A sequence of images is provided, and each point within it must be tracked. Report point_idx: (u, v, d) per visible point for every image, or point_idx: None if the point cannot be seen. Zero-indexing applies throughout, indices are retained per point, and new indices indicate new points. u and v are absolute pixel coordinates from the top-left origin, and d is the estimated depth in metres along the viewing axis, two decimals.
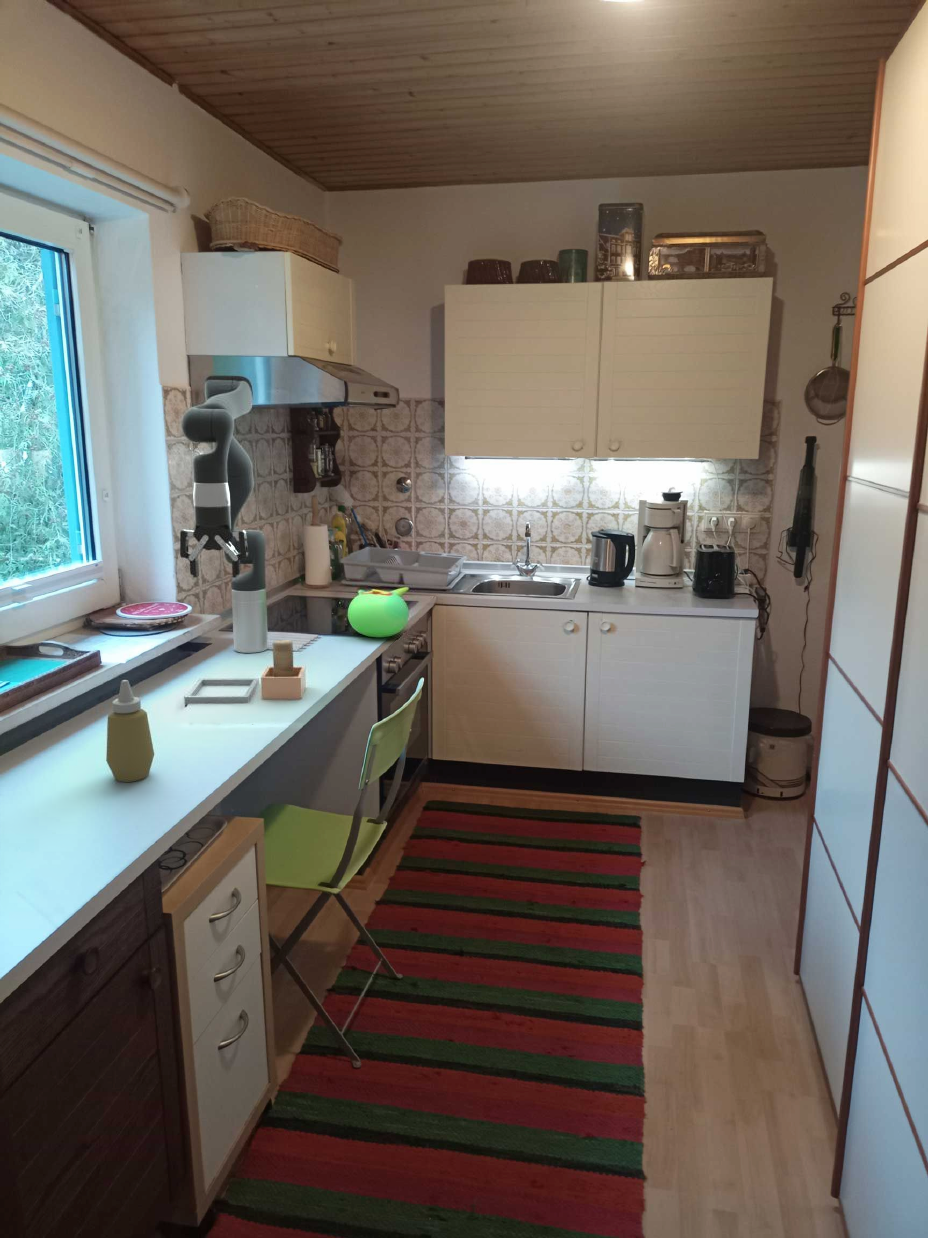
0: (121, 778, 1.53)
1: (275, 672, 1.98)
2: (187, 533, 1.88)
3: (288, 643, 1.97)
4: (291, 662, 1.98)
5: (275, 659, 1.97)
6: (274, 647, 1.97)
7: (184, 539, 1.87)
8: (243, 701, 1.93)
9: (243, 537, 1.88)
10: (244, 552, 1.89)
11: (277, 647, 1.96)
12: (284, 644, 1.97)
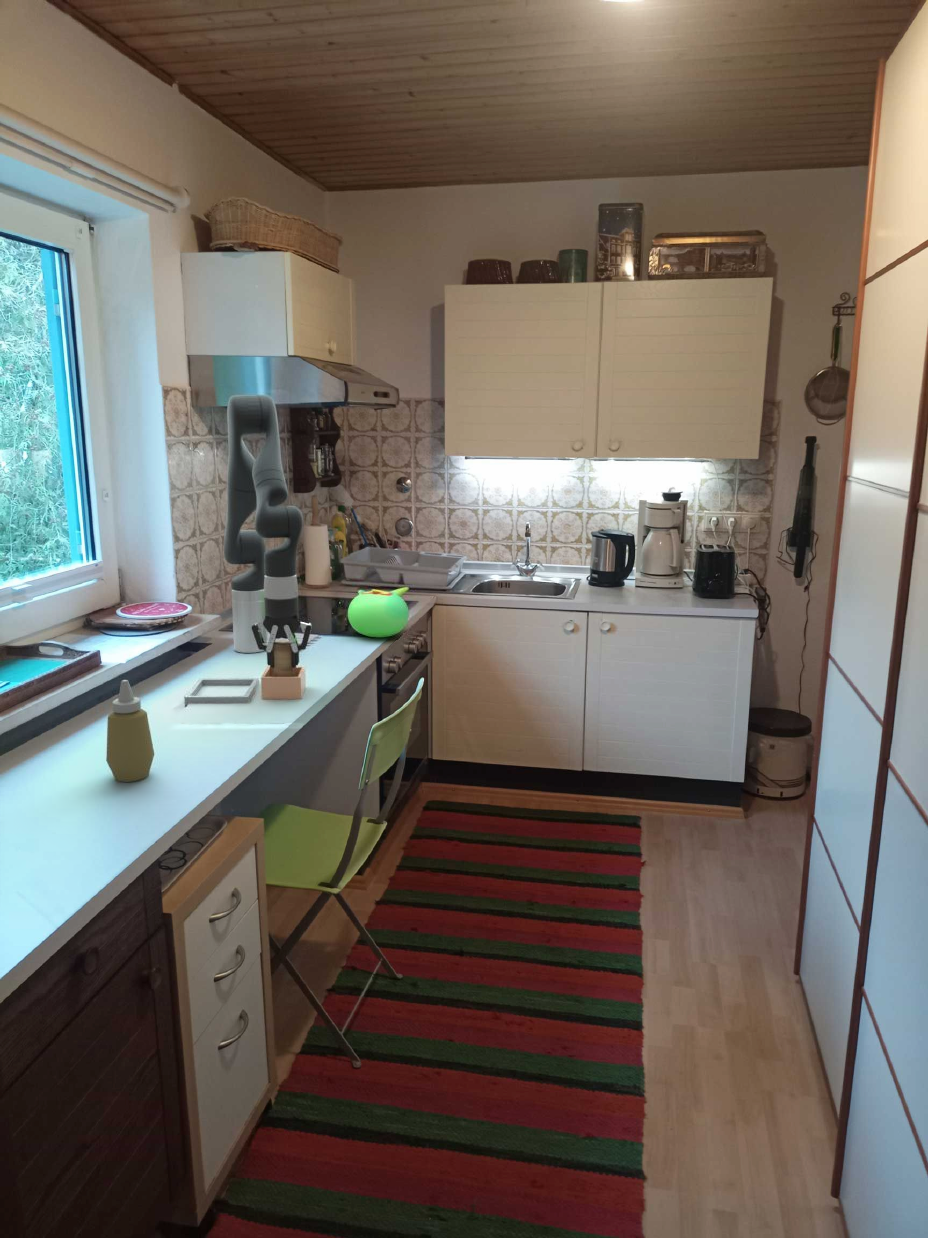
0: (121, 778, 1.53)
1: (275, 672, 1.98)
2: (258, 626, 1.96)
3: (288, 643, 1.97)
4: (291, 662, 1.98)
5: (275, 659, 1.97)
6: (274, 647, 1.97)
7: (257, 632, 1.96)
8: (243, 701, 1.93)
9: (309, 631, 1.97)
10: (304, 644, 1.97)
11: (277, 647, 1.96)
12: (284, 644, 1.97)
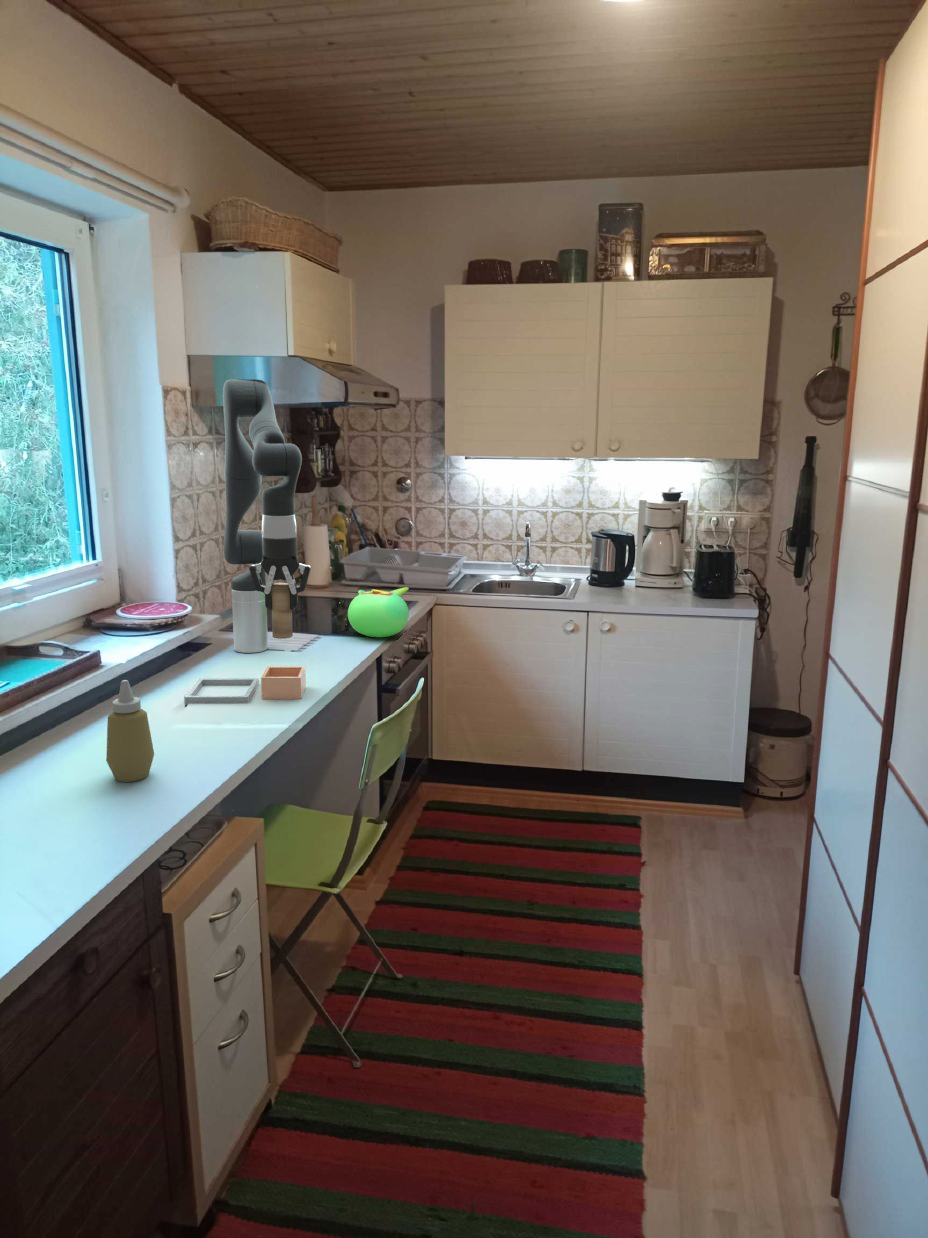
0: (121, 778, 1.53)
1: (273, 614, 1.95)
2: (255, 567, 1.93)
3: (286, 585, 1.94)
4: (289, 604, 1.95)
5: (273, 601, 1.94)
6: (272, 589, 1.93)
7: (255, 573, 1.93)
8: (243, 701, 1.93)
9: (308, 572, 1.93)
10: (302, 586, 1.94)
11: (276, 589, 1.93)
12: (282, 586, 1.94)
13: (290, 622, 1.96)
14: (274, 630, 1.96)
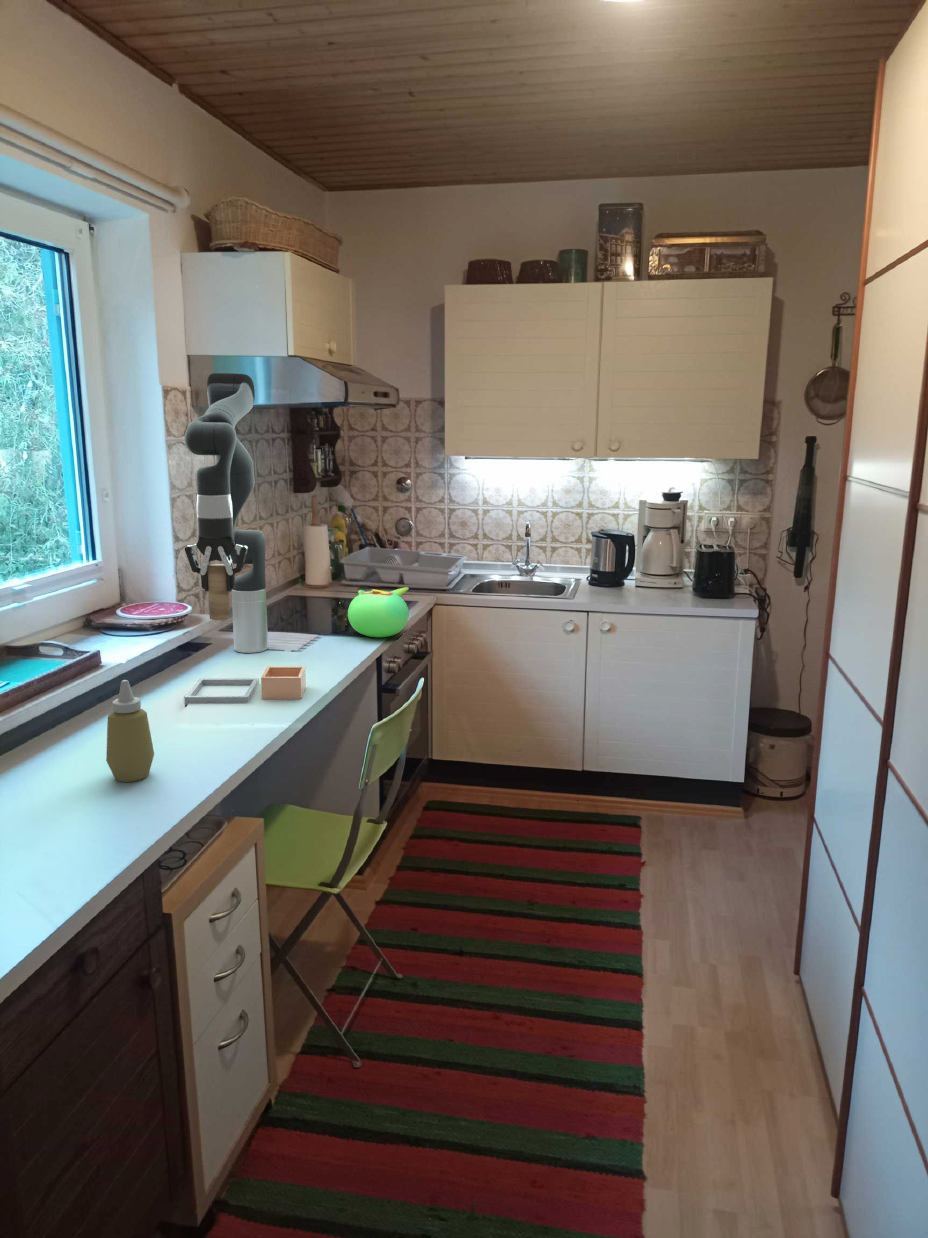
0: (121, 778, 1.53)
1: (210, 596, 1.93)
2: (191, 548, 1.91)
3: (223, 566, 1.92)
4: (225, 585, 1.93)
5: (209, 582, 1.92)
6: (208, 569, 1.92)
7: (190, 554, 1.91)
8: (243, 701, 1.93)
9: (244, 553, 1.92)
10: (239, 566, 1.92)
11: (211, 569, 1.91)
12: (218, 566, 1.92)
13: (227, 603, 1.94)
14: (211, 611, 1.94)
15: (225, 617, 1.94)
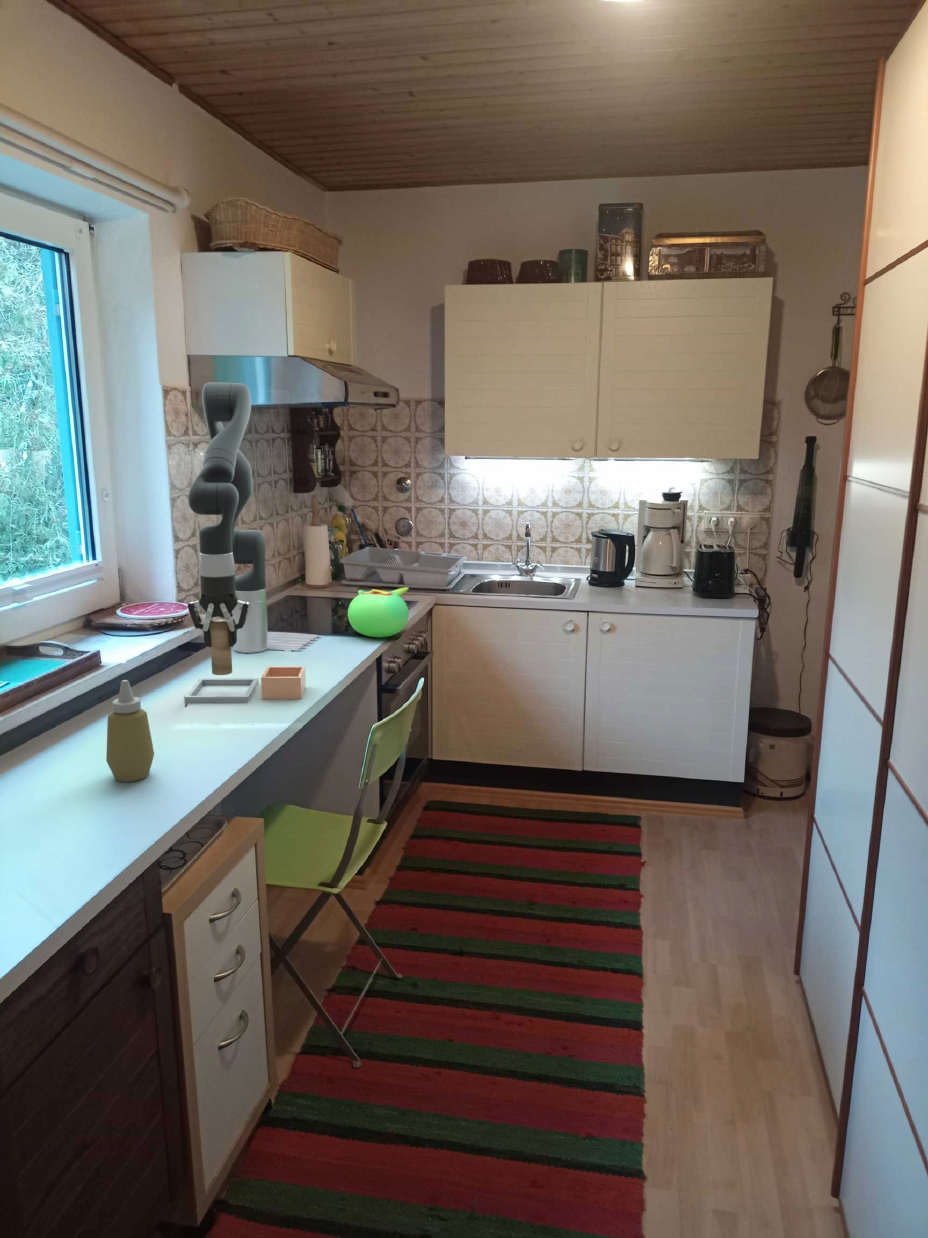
0: (121, 778, 1.53)
1: (212, 651, 1.96)
2: (194, 604, 1.94)
3: (225, 622, 1.95)
4: (228, 641, 1.96)
5: (212, 638, 1.95)
6: (211, 626, 1.95)
7: (193, 611, 1.94)
8: (243, 701, 1.93)
9: (246, 610, 1.95)
10: (241, 623, 1.95)
11: (214, 626, 1.94)
12: (221, 623, 1.95)
13: (229, 659, 1.97)
14: (213, 667, 1.97)
15: (227, 672, 1.97)
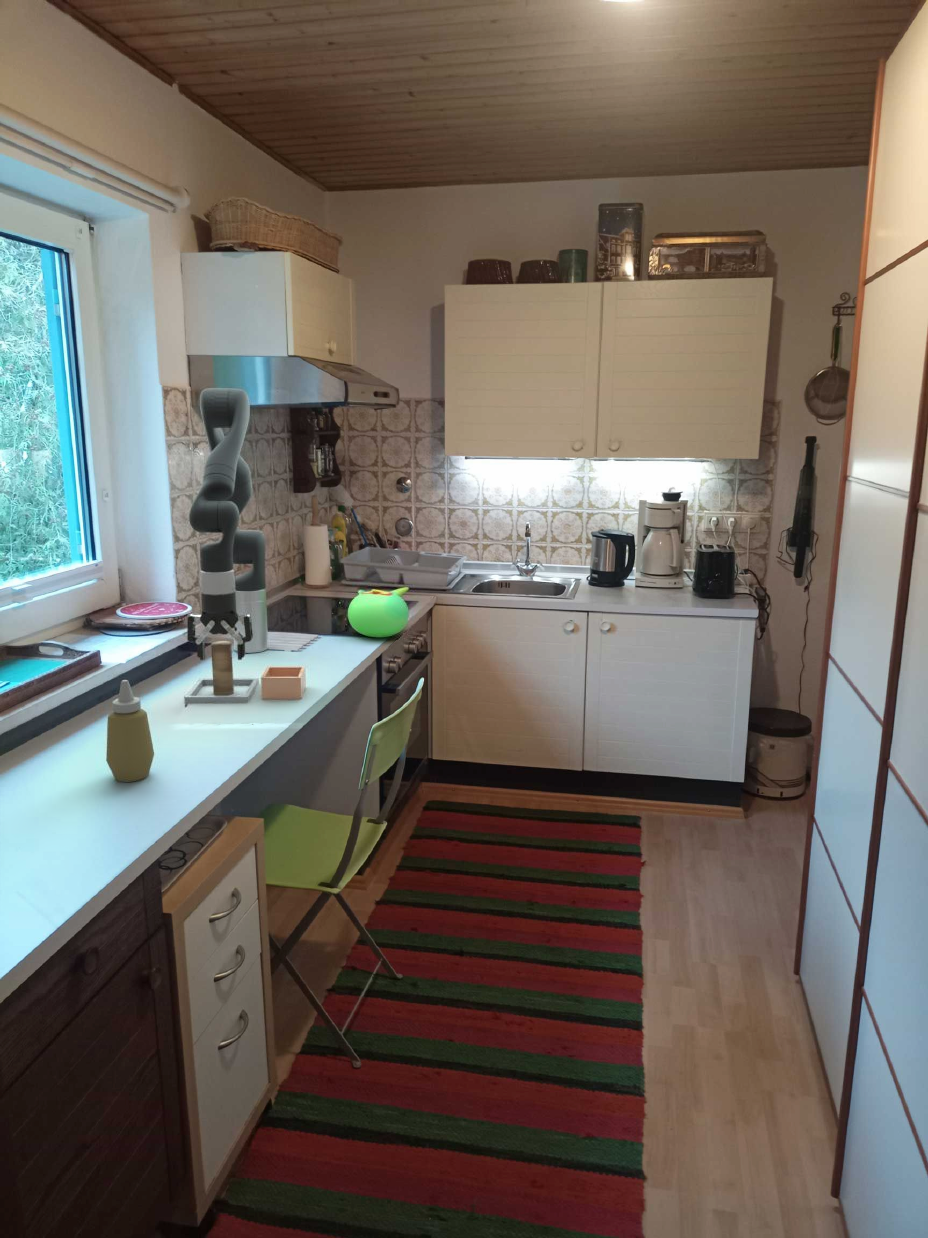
0: (121, 778, 1.53)
1: (214, 673, 1.97)
2: (194, 618, 1.95)
3: (226, 644, 1.97)
4: (229, 663, 1.97)
5: (213, 660, 1.96)
6: (212, 648, 1.96)
7: (191, 624, 1.95)
8: (243, 701, 1.93)
9: (248, 622, 1.95)
10: (249, 636, 1.96)
11: (215, 648, 1.95)
12: (222, 645, 1.96)
13: (231, 680, 1.98)
14: (215, 688, 1.98)
15: (229, 693, 1.98)
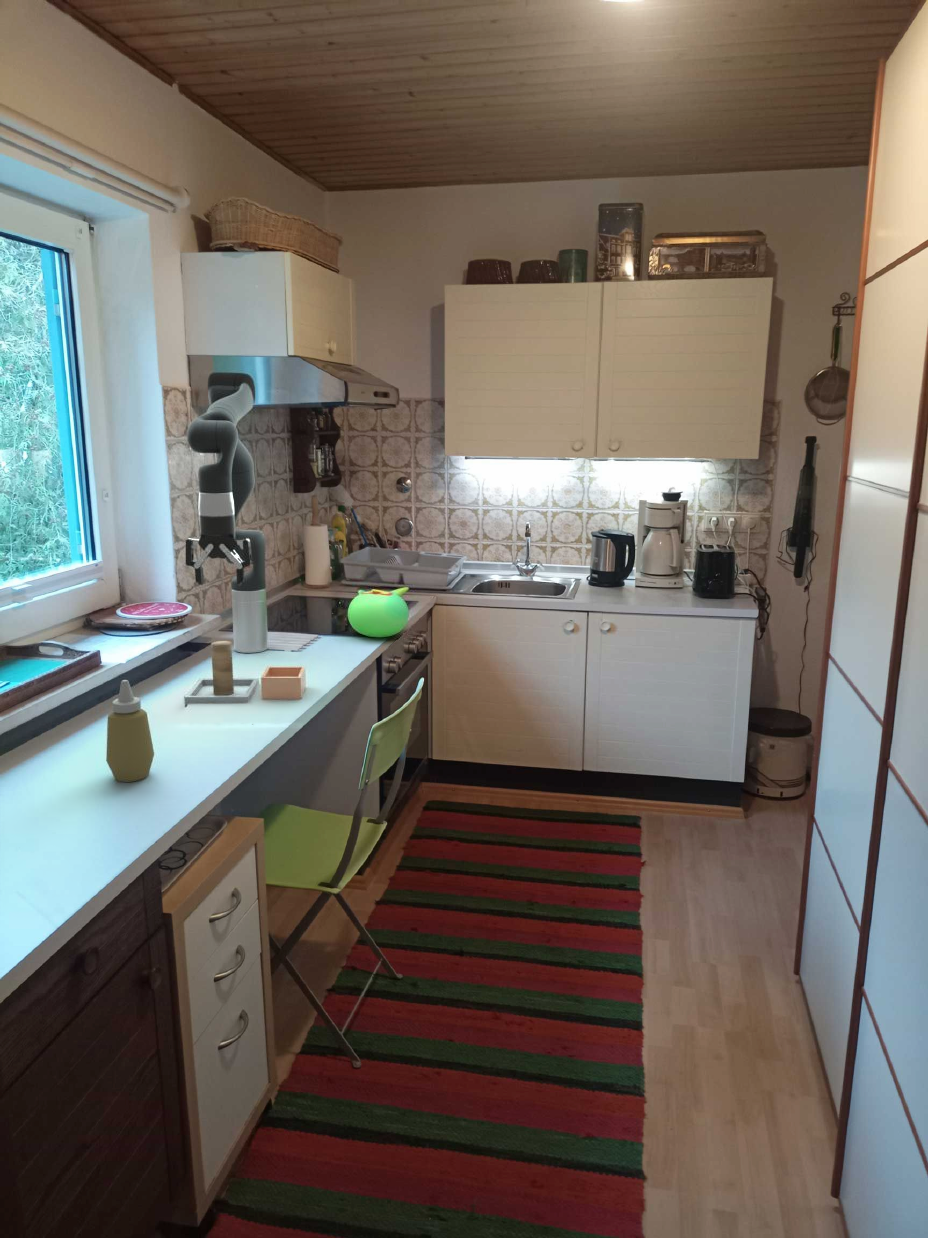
0: (121, 778, 1.53)
1: (214, 673, 1.97)
2: (192, 542, 1.92)
3: (226, 644, 1.97)
4: (229, 663, 1.97)
5: (213, 660, 1.96)
6: (212, 648, 1.96)
7: (189, 548, 1.92)
8: (243, 701, 1.93)
9: (247, 545, 1.92)
10: (248, 560, 1.93)
11: (215, 648, 1.95)
12: (222, 645, 1.96)
13: (231, 680, 1.98)
14: (215, 688, 1.98)
15: (229, 693, 1.98)
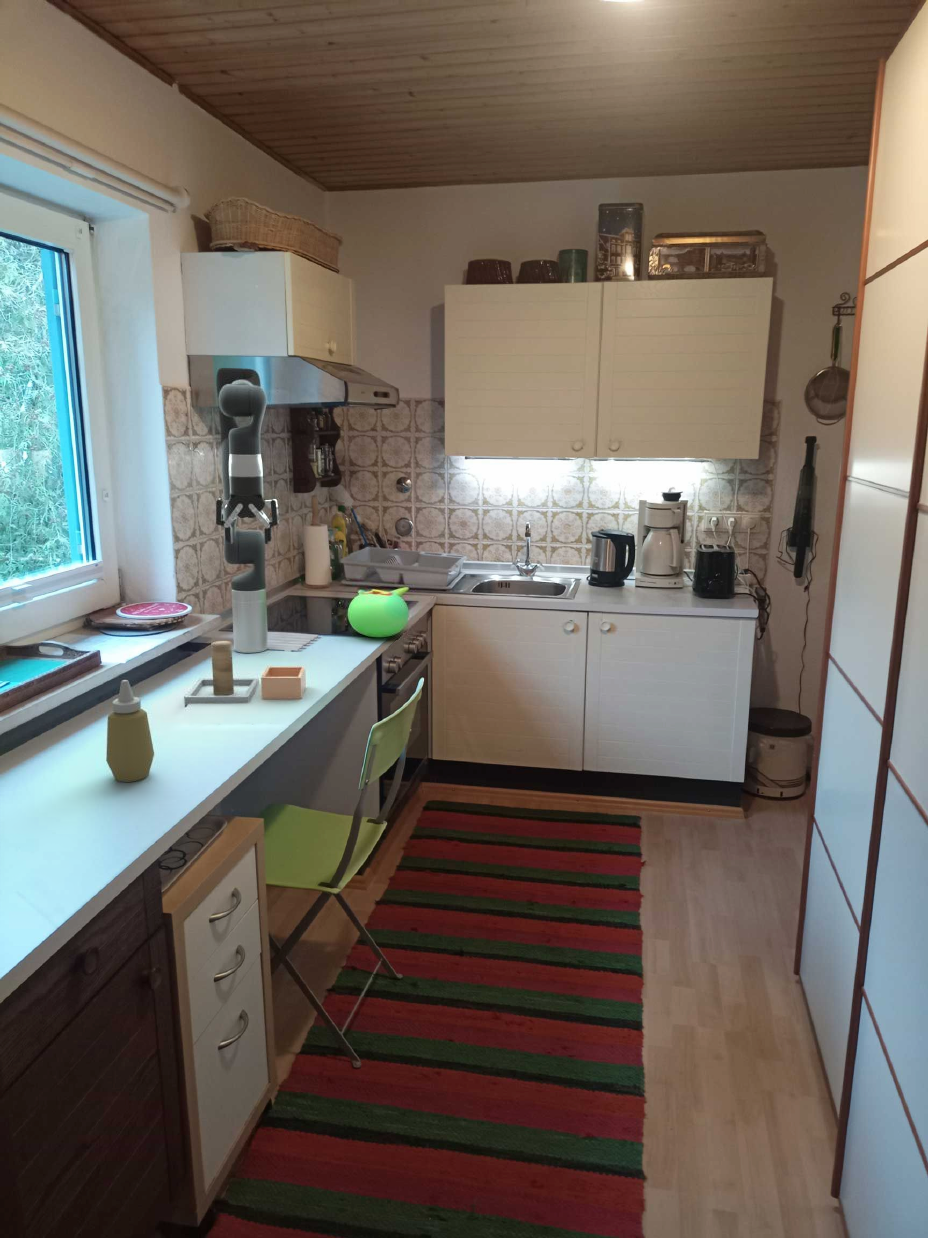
0: (121, 778, 1.53)
1: (214, 673, 1.97)
2: (222, 502, 2.01)
3: (226, 644, 1.97)
4: (229, 663, 1.97)
5: (213, 660, 1.96)
6: (212, 648, 1.96)
7: (220, 507, 2.01)
8: (243, 701, 1.93)
9: (275, 505, 2.01)
10: (276, 520, 2.02)
11: (215, 648, 1.95)
12: (222, 645, 1.96)
13: (231, 680, 1.98)
14: (215, 688, 1.98)
15: (229, 693, 1.98)
